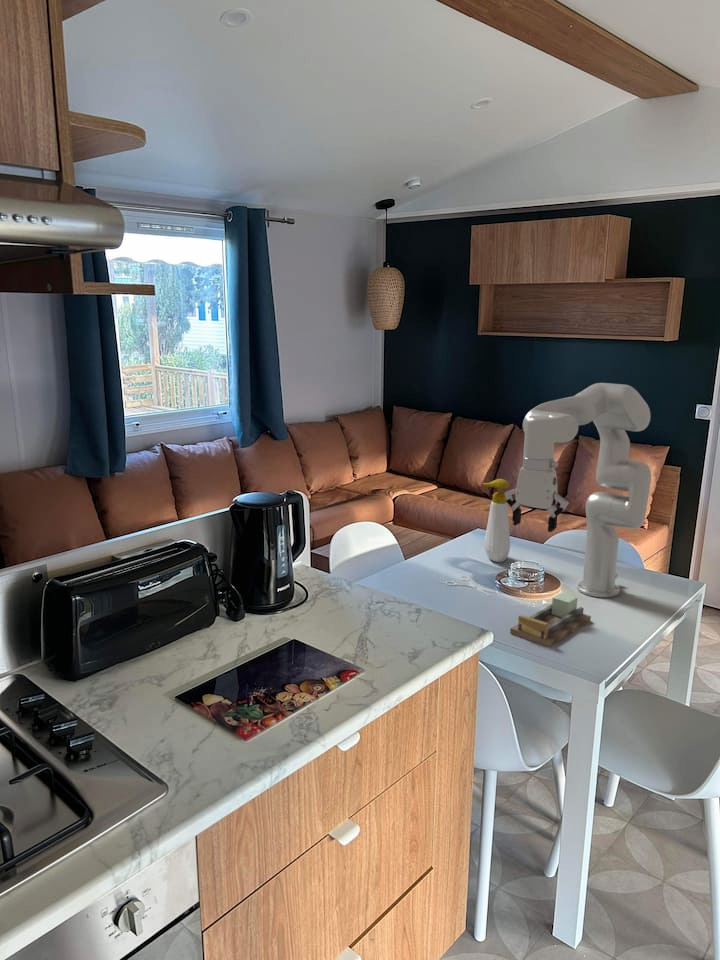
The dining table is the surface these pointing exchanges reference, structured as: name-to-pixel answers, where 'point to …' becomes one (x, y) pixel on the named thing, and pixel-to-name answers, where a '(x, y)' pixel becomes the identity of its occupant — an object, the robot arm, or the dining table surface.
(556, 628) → the track
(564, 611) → the pale green cube
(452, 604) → the dining table surface
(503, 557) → the spray bottle
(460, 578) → the scissors
